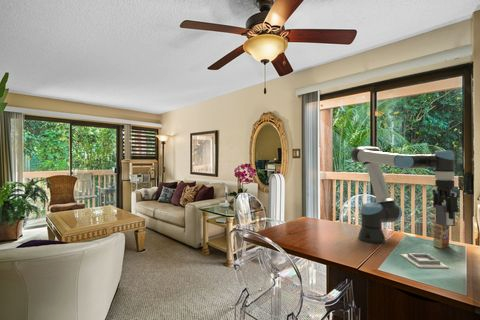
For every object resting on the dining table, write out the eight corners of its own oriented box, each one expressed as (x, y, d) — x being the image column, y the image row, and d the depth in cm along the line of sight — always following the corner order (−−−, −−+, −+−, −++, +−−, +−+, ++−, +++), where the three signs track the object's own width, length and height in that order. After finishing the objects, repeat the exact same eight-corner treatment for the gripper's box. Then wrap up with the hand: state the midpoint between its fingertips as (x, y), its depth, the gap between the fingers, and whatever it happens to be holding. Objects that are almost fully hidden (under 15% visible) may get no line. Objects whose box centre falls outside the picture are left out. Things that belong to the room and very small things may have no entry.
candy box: (441, 249, 135) (442, 223, 134) (433, 246, 139) (433, 221, 138) (449, 246, 138) (449, 221, 138) (441, 243, 142) (441, 219, 142)
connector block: (435, 223, 124) (435, 202, 124) (447, 223, 124) (446, 201, 124) (443, 226, 119) (442, 203, 119) (455, 226, 119) (454, 203, 119)
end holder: (400, 255, 127) (400, 251, 127) (427, 255, 126) (427, 251, 126) (418, 267, 113) (418, 263, 113) (448, 268, 112) (448, 263, 112)
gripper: (467, 181, 112) (468, 228, 112) (438, 178, 130) (438, 218, 130) (451, 181, 112) (452, 228, 113) (424, 178, 130) (425, 218, 131)
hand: (445, 223), depth 121 cm, fingers closed on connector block, 5 cm apart
